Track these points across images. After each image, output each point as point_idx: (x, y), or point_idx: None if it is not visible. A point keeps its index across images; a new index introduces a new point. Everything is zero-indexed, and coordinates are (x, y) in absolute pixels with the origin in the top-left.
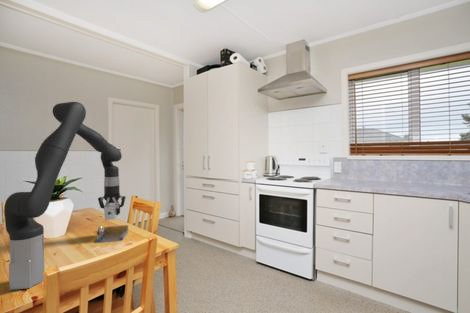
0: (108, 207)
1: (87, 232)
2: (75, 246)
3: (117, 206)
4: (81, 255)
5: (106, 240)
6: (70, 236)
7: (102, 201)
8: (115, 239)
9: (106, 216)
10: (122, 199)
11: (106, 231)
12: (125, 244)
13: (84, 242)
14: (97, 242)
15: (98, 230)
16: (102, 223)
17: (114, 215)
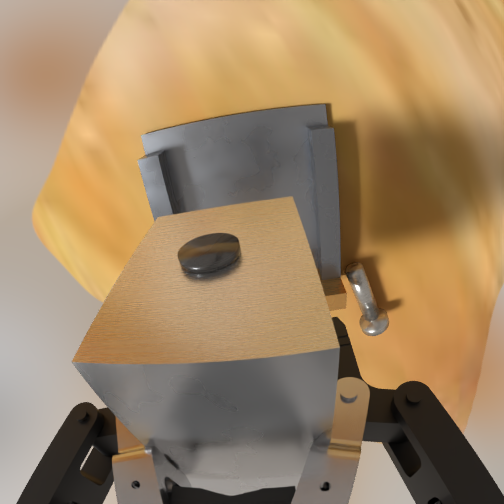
0: (216, 346)
1: (429, 301)
2: (424, 82)
3: None
4: None
5: (256, 132)
6: (486, 253)
7: (421, 496)
8: (195, 148)
9: (266, 219)
10: (39, 501)
11: (320, 276)
12: (96, 80)
13: (402, 140)
14: (309, 105)
15: (381, 310)
16: None
17: (142, 242)
